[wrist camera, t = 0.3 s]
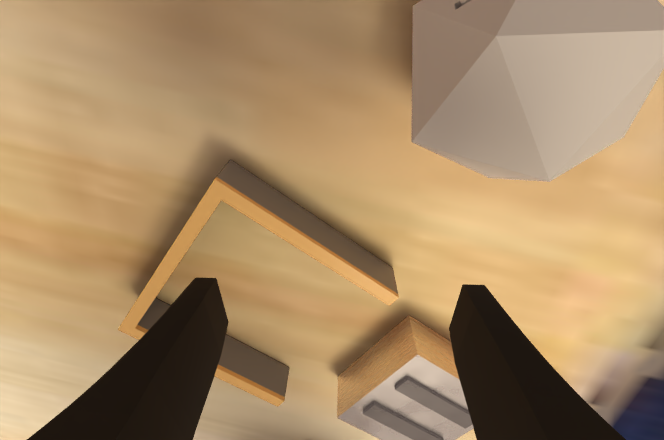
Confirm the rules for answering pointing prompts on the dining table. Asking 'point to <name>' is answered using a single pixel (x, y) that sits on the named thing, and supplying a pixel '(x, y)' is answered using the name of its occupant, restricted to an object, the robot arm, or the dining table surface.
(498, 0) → the die
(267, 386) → the bay
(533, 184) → the dining table surface
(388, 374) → the block with grey stripes
